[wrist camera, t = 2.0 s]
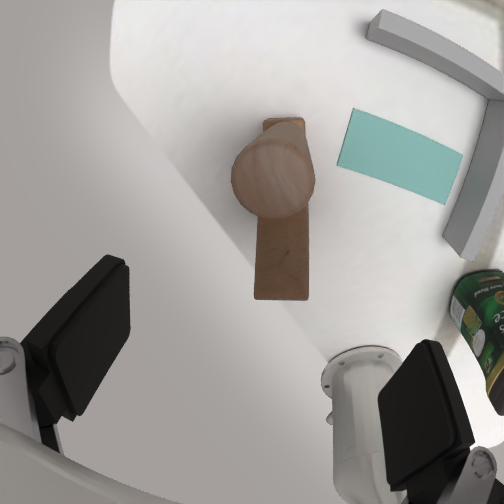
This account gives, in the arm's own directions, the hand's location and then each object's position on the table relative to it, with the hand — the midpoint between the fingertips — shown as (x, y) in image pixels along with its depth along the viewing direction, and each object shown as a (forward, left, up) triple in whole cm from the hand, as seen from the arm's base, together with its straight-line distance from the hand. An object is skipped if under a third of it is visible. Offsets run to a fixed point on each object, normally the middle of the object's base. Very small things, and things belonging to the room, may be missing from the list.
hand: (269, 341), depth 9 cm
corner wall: (+8, -12, -24) cm, 28 cm away
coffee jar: (-7, -29, -24) cm, 38 cm away
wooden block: (0, 0, -24) cm, 24 cm away
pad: (+5, -11, -24) cm, 26 cm away
